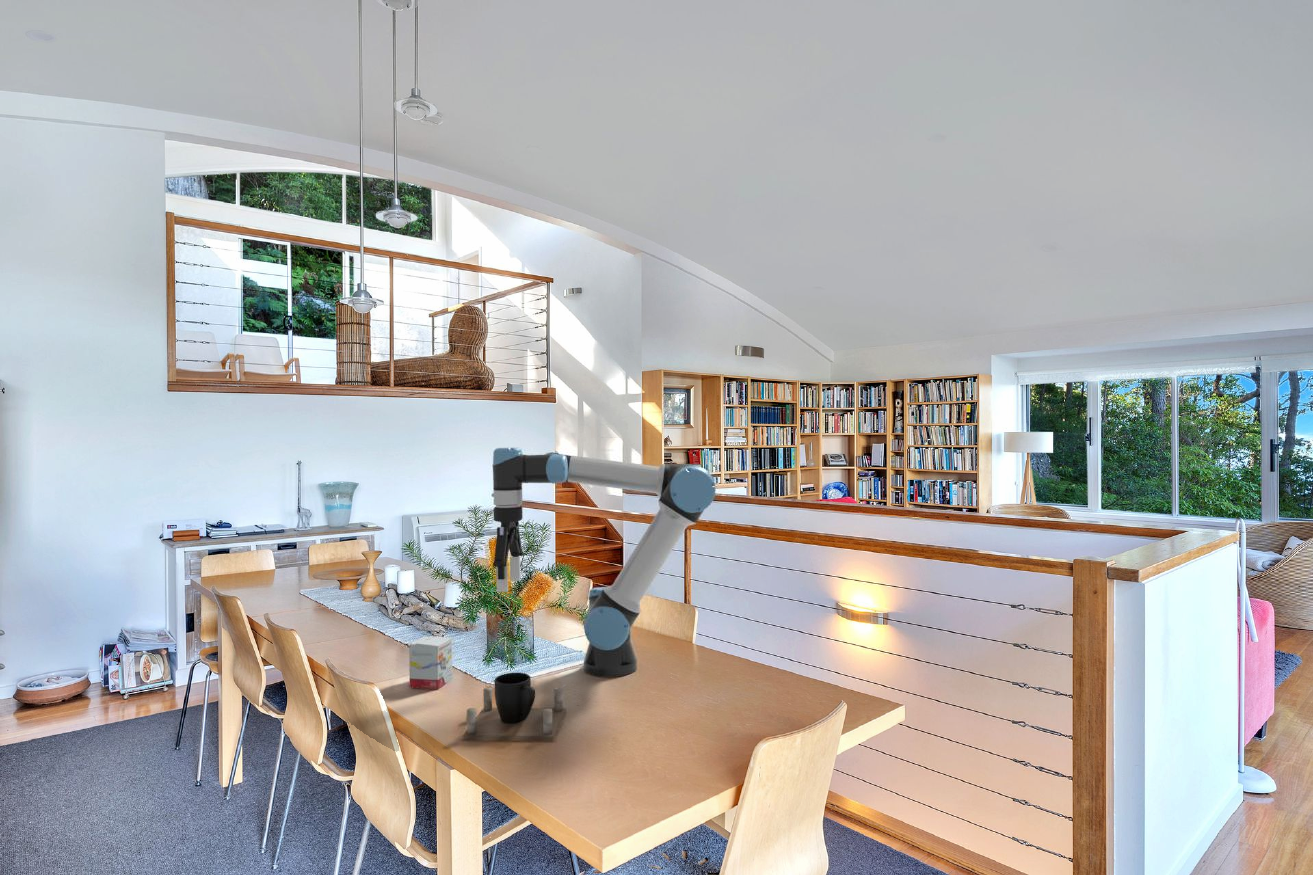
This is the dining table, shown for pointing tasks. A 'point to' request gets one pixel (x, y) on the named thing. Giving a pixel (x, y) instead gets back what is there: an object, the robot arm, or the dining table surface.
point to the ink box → (430, 662)
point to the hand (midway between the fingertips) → (509, 586)
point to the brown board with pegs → (535, 727)
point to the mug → (514, 697)
